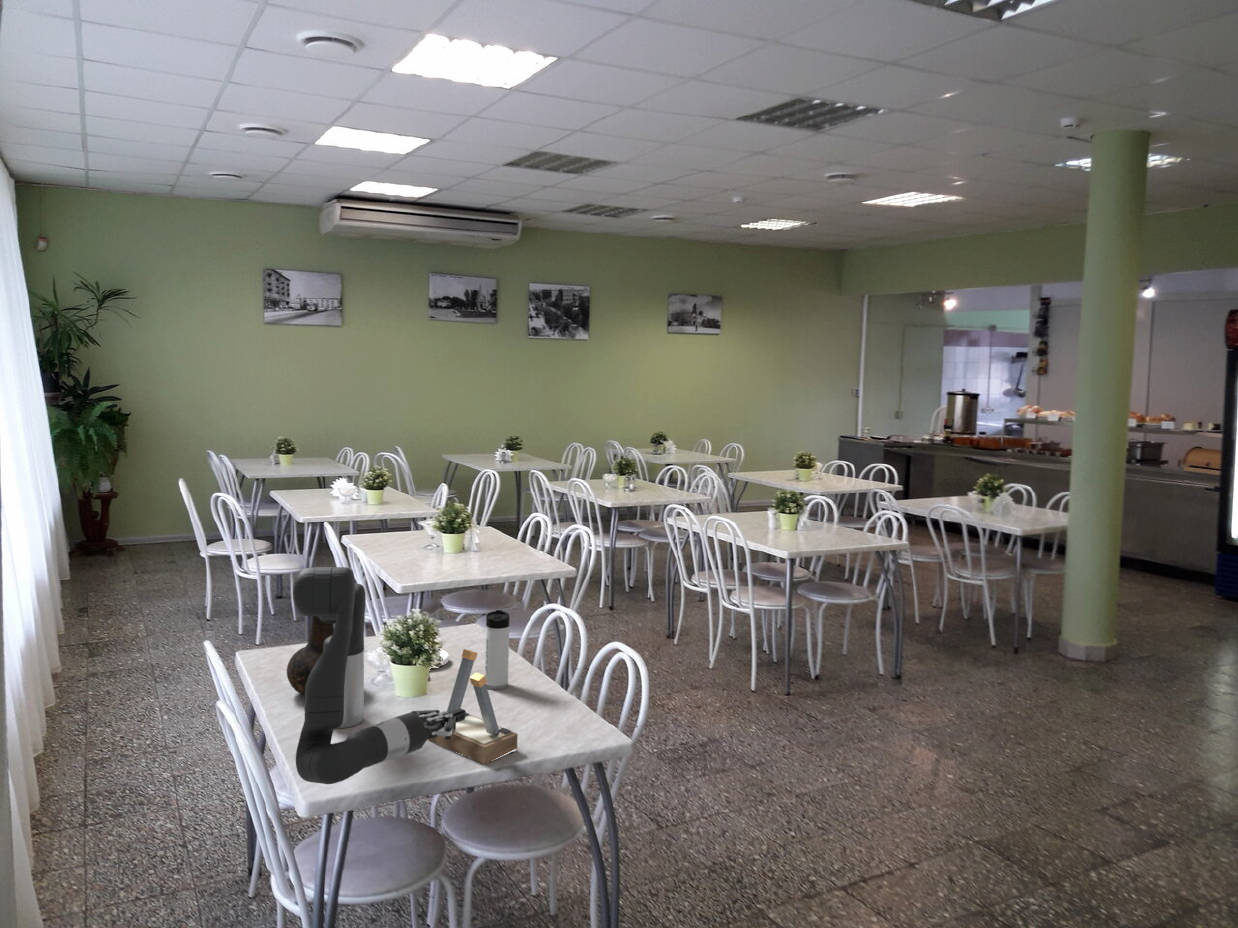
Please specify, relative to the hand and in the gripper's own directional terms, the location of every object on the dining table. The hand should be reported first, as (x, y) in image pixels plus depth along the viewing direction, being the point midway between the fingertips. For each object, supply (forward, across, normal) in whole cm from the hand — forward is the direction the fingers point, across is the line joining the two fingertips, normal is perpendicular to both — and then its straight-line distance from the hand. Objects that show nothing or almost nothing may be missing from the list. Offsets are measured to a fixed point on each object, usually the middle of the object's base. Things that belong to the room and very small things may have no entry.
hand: (463, 713), depth 195 cm
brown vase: (+4, +58, +12) cm, 59 cm away
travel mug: (+39, +31, +12) cm, 51 cm away
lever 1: (+9, +14, +7) cm, 18 cm away
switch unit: (+9, +7, +12) cm, 17 cm away
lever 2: (+9, 0, +7) cm, 12 cm away
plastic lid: (+37, +59, +13) cm, 71 cm away
